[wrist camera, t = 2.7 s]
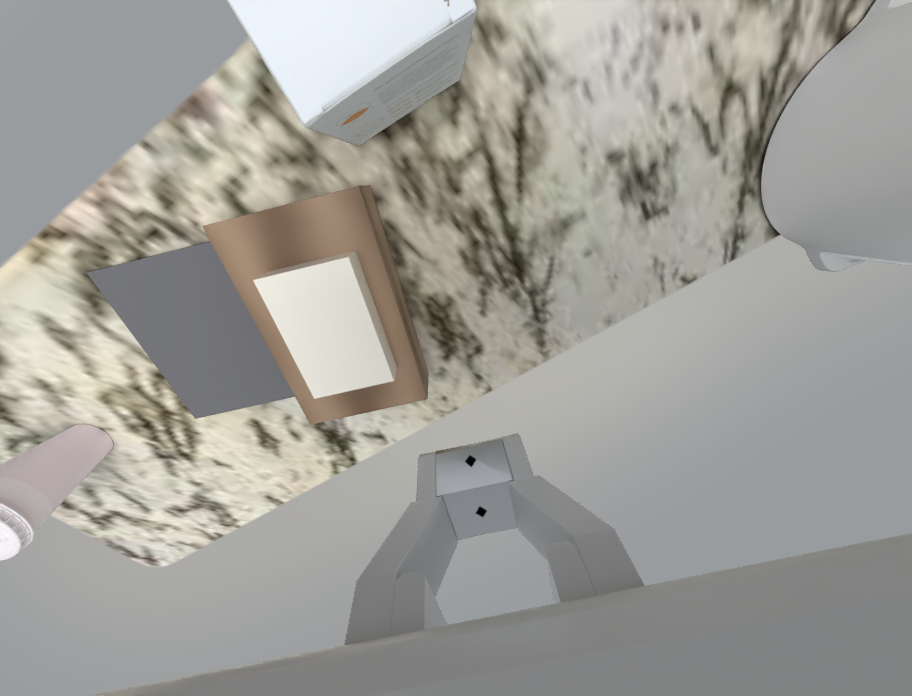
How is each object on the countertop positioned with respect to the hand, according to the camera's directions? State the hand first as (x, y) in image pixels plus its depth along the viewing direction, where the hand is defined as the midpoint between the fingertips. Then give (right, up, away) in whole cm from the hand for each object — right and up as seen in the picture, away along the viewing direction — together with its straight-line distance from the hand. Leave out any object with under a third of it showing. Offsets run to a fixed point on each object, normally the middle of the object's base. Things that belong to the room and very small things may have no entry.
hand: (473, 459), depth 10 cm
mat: (-20, +4, +18) cm, 28 cm away
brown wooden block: (-10, +7, +17) cm, 21 cm away
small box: (-5, +21, +11) cm, 24 cm away
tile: (-9, +5, +14) cm, 17 cm away
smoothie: (-35, -5, +22) cm, 42 cm away
